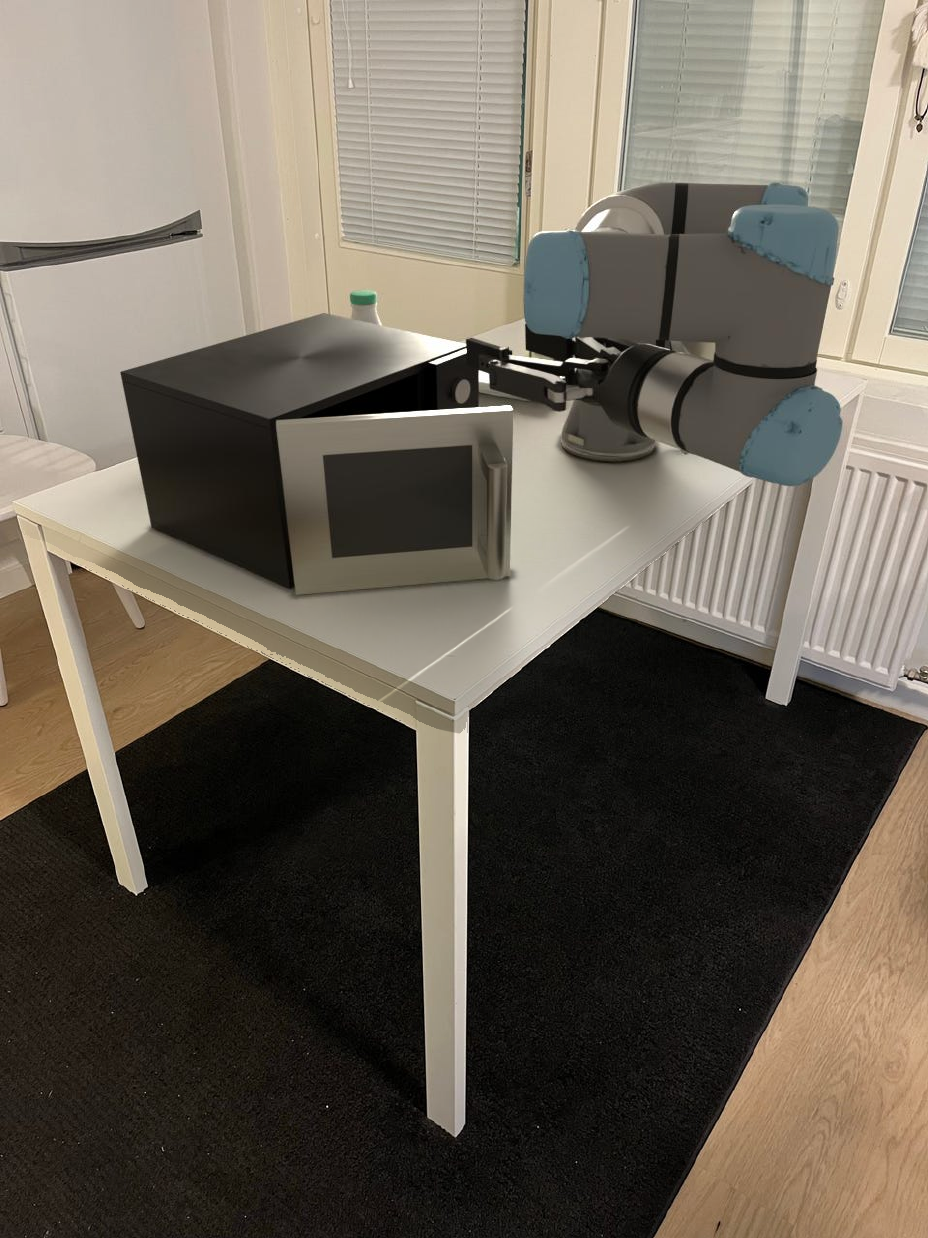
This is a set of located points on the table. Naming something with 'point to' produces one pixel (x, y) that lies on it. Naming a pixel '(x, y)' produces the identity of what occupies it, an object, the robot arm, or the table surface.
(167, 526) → the microwave
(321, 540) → the microwave door
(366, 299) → the milk bottle
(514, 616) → the table surface
